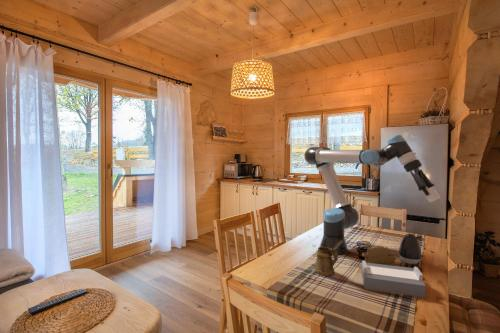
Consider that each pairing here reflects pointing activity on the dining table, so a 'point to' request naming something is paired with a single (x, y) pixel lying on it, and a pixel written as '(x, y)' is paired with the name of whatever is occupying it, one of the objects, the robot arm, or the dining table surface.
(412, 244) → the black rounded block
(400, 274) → the open storage tray
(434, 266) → the dining table surface
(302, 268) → the dining table surface
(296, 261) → the dining table surface
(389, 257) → the wooden carving
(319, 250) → the wooden mug
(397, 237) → the dining table surface
